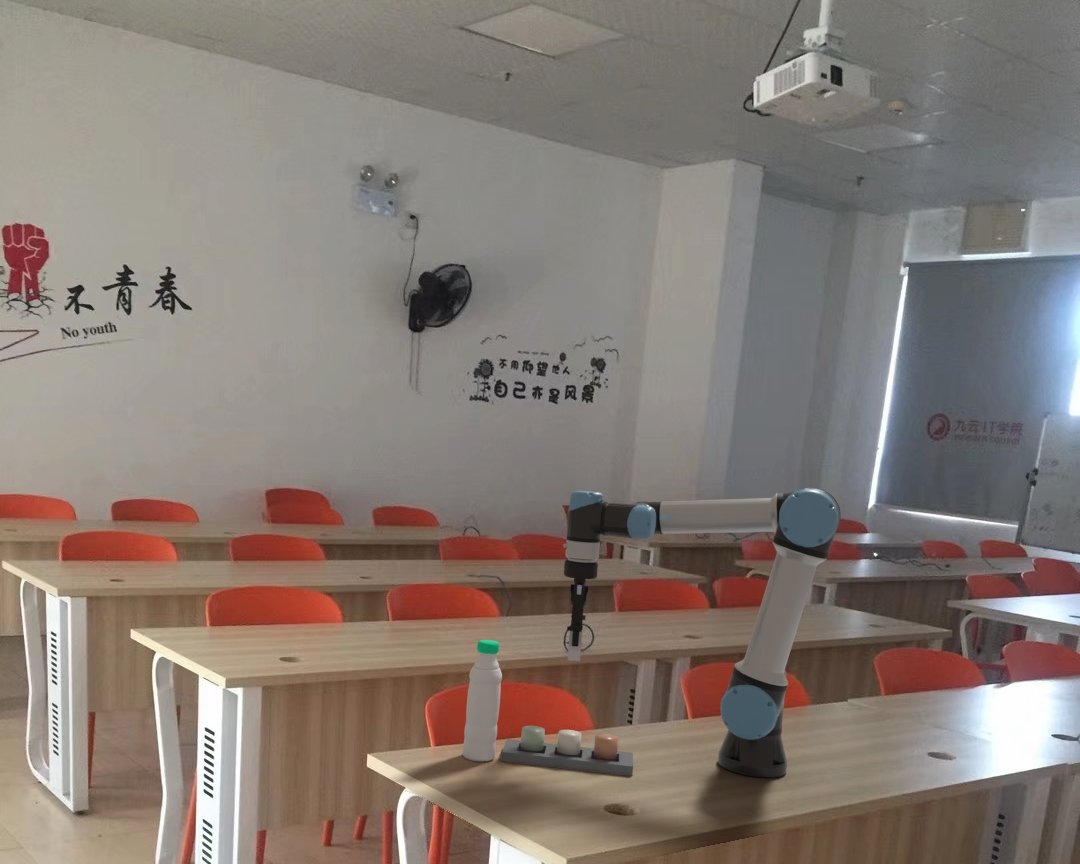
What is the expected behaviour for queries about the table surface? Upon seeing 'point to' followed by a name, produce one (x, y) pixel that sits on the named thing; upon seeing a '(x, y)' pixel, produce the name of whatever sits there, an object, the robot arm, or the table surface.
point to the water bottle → (483, 704)
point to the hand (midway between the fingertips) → (574, 654)
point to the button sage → (532, 738)
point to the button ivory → (569, 742)
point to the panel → (568, 759)
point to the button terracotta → (606, 746)
